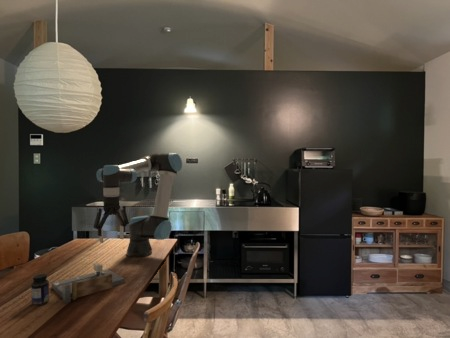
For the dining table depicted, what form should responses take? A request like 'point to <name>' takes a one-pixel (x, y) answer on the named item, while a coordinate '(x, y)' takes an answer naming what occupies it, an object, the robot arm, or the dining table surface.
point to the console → (59, 285)
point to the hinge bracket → (66, 293)
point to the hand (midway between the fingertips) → (111, 240)
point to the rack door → (91, 286)
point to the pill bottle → (40, 290)
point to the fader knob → (98, 268)
